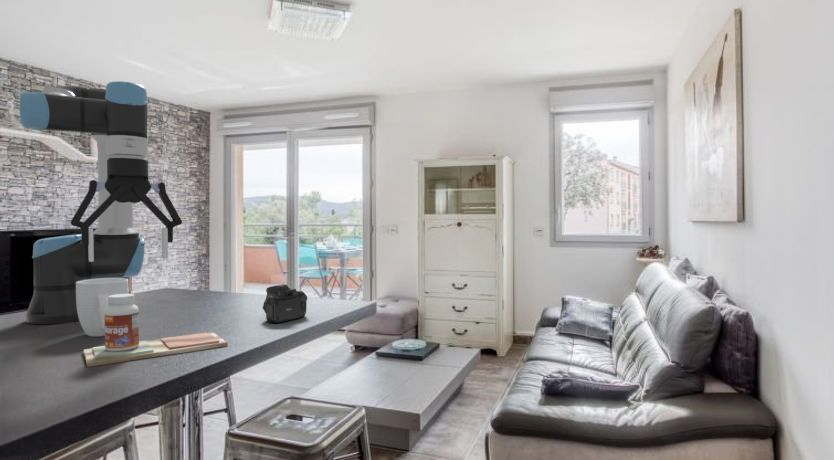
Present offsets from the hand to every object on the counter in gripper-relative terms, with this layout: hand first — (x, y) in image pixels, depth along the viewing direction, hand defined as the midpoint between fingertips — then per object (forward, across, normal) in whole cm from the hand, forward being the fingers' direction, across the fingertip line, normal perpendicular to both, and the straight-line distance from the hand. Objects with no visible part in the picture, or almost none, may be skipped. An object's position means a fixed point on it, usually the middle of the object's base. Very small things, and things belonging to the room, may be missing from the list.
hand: (129, 259), depth 107 cm
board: (+20, +5, -2) cm, 20 cm away
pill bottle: (+18, -2, -1) cm, 19 cm away
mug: (+20, -4, +21) cm, 29 cm away
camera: (+20, +38, +13) cm, 45 cm away
